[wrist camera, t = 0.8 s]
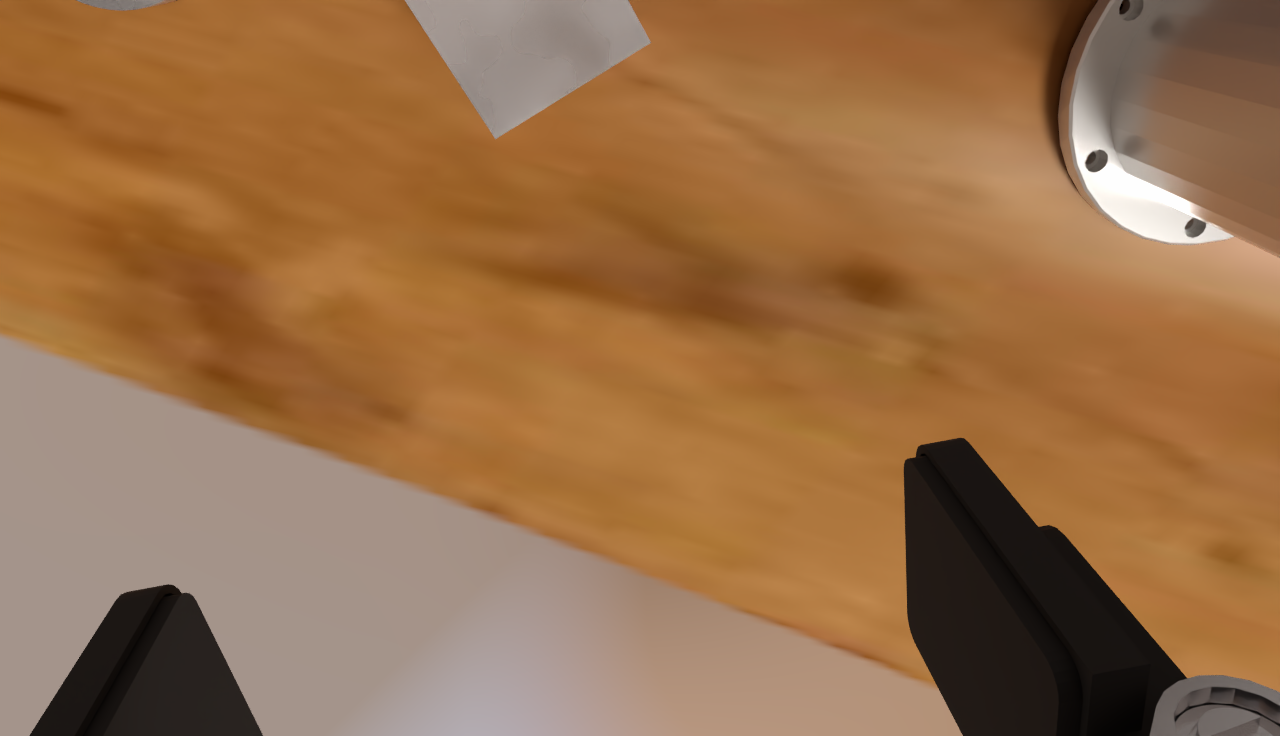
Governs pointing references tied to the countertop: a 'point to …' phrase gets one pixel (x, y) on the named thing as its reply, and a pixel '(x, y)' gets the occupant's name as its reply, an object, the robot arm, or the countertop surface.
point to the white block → (527, 49)
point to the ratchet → (124, 3)
